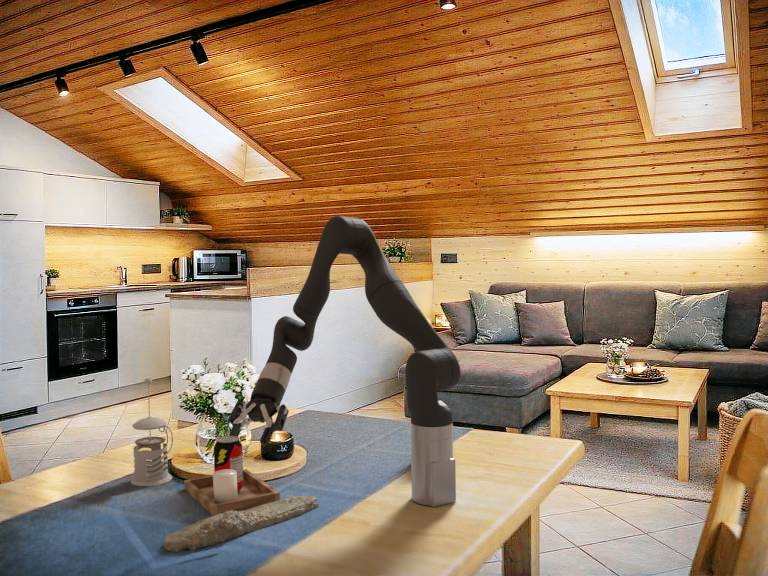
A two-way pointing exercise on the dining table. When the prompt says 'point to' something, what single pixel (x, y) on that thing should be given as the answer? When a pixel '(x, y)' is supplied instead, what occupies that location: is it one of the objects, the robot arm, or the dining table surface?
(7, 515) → the dining table surface
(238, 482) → the beverage can
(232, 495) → the frosted white cylinder
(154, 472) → the french press
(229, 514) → the long grey stone
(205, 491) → the tray
